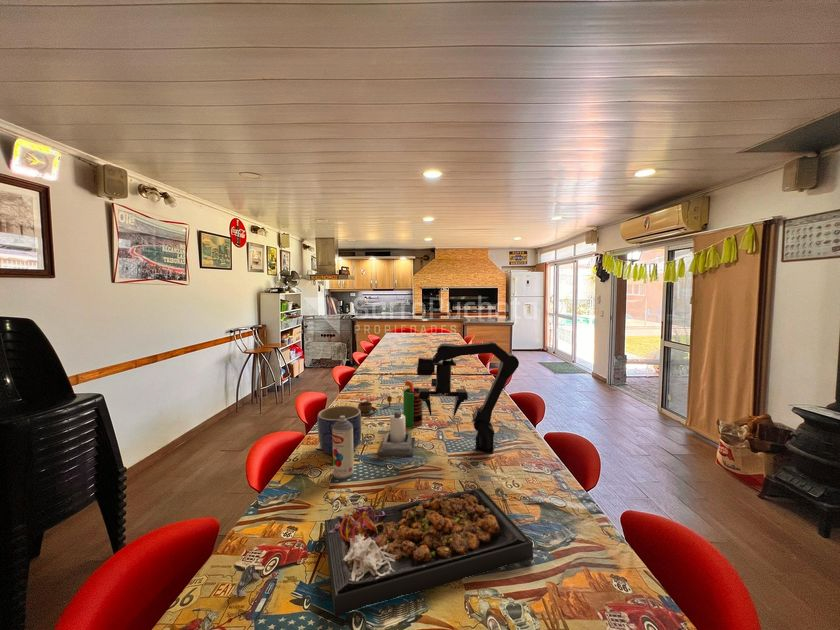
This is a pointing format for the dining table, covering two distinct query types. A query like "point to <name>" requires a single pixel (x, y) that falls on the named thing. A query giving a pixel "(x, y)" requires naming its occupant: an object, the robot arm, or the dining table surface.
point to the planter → (331, 417)
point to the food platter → (418, 547)
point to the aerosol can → (343, 449)
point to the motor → (412, 406)
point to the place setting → (369, 407)
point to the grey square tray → (397, 446)
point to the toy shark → (245, 580)
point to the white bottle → (397, 427)
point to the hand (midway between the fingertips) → (442, 415)
